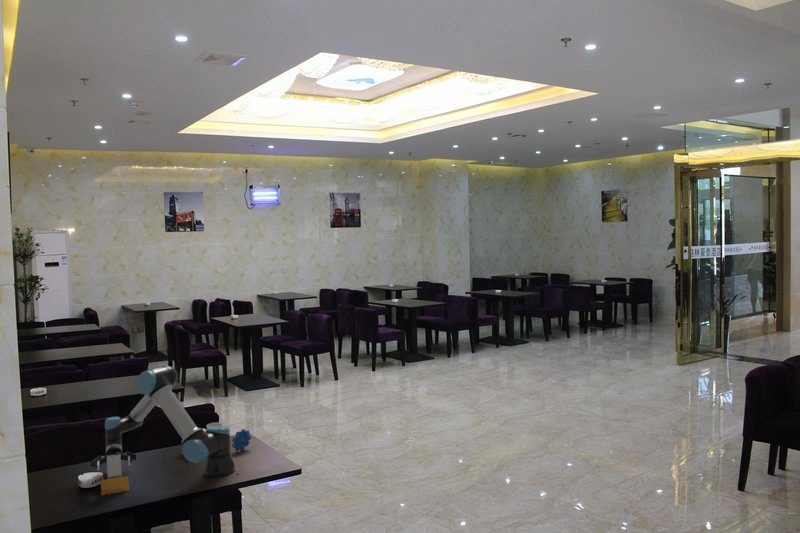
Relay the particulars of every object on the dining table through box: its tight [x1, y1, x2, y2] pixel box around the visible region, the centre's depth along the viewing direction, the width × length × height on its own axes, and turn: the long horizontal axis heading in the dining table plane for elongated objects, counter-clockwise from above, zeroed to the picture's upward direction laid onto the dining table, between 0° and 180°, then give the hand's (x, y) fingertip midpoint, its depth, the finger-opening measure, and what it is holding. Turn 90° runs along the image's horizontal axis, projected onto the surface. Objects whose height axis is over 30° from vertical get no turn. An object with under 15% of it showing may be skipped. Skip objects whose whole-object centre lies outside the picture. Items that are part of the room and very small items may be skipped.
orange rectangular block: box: [100, 475, 130, 496], centre depth 305 cm, size 9×12×7 cm
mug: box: [206, 422, 223, 428], centre depth 376 cm, size 12×9×11 cm
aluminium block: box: [106, 454, 123, 479], centre depth 306 cm, size 6×6×12 cm
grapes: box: [231, 428, 252, 452], centre depth 360 cm, size 12×7×12 cm, turn 129°
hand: (113, 465), depth 304 cm, fingers open, 13 cm apart
